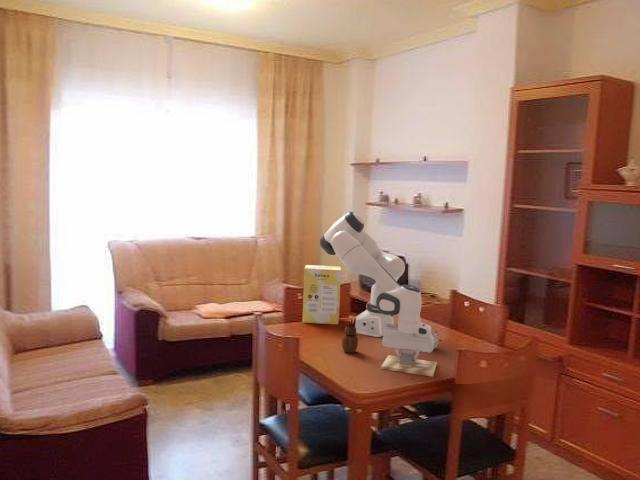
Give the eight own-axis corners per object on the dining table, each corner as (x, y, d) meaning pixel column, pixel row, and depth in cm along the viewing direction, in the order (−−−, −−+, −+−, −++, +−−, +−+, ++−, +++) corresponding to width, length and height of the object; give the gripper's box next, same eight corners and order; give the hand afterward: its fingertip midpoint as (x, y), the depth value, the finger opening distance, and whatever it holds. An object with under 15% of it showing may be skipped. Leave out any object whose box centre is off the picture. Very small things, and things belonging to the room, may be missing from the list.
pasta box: (338, 319, 282) (340, 266, 278) (338, 324, 271) (340, 270, 268) (304, 317, 283) (306, 264, 280) (302, 322, 272) (304, 268, 269)
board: (381, 368, 210) (381, 365, 209) (388, 357, 223) (388, 355, 223) (432, 376, 203) (433, 373, 203) (436, 364, 217) (437, 362, 216)
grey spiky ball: (432, 358, 236) (436, 345, 229) (415, 348, 239) (419, 335, 232) (442, 345, 241) (446, 332, 234) (426, 335, 244) (429, 322, 237)
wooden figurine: (358, 350, 231) (360, 316, 229) (355, 354, 225) (357, 320, 224) (343, 348, 233) (345, 315, 231) (340, 352, 227) (341, 318, 226)
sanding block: (399, 365, 210) (399, 355, 210) (402, 359, 218) (403, 349, 218) (410, 367, 209) (411, 357, 209) (413, 360, 217) (414, 351, 216)
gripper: (381, 325, 212) (379, 358, 214) (433, 331, 206) (431, 366, 207) (384, 321, 218) (382, 353, 220) (435, 327, 212) (433, 360, 213)
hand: (406, 359), depth 213 cm, fingers closed on sanding block, 4 cm apart
